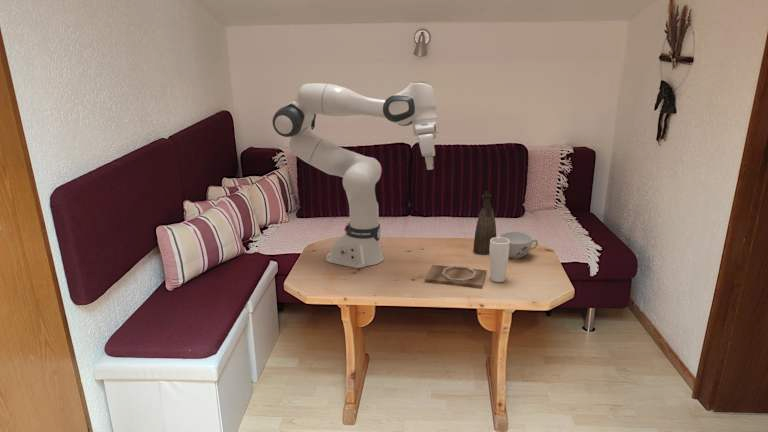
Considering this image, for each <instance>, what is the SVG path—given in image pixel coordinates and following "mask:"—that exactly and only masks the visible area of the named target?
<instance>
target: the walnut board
mask: <svg viewBox="0 0 768 432" xmlns="http://www.w3.org/2000/svg"><path fill="white" fill-rule="evenodd" d="M486 275H487V269H478V268H470V267H469V266H460V265H453V266H450V265H440V264H439V265H438V264H432V265H431V266H430V269H429V271H428V273H427V274H426V276H425V278H424V283H429V284H437V285H448V286H456V287H464V288H473V289H474V288H475V289H483V286H484V283H485V279H486Z"/></svg>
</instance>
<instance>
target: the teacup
mask: <svg viewBox="0 0 768 432" xmlns="http://www.w3.org/2000/svg"><path fill="white" fill-rule="evenodd" d="M498 237H504V238H507V239H509V241H510V247H509V257H508V258H510V259H517V260H519V259H521V258H523V257H524V256H526V254H527V253H529V251H532V250H534V249H536V248H537V247H538V246H539V245H538V244H539V240H538V239H536V238H534V237H533V236H532V235H530V234H528V233H525V232H520V231H506V232H504V233H501V234H500V235H499V236H498ZM533 243H535V245H534V246H532V245H533Z"/></svg>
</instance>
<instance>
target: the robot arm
mask: <svg viewBox="0 0 768 432" xmlns="http://www.w3.org/2000/svg"><path fill="white" fill-rule="evenodd" d="M296 96H297V97H296V99H295V100H293V101H290V102H288V103H286V104H285V105H284V106H282V107H281V108H279V109H278V110H277V111H276V112H275V113H274V115H273V117H272V122H271V123H272V127H273V128H274V130H275V132H276V133H277V134H278V135H280V136H281V137H285V138H290V139H289V141H288V148H289V151H290V152H291V153H293V155H294V156H296V157H297V158H298V159H300V160H301V161H303V162H305V163H306V164H308V165H310V166H312V167H314V168H315V169H318V170H319V171H321V172H323V173H325V174H327V175H331V176H337V177H340V178H342V187H343V189H344V191H345V194H346V197H347V203H348V208H349V211H348V212H349V221H348V222H347V225H345V227H344V228H343V231H344V232H345V233H344V234H342V235H341V236H339V237H338V238H337V239H336V240H335V241H334V242H333V244H332V247H331V251H329V252H328V253H327V254H326V256H325V261H326V263H331V264H335V265H340V266H341V265H342V266H345V267H349V268H355V269H361V268H365V267H367V266H368V267H370V266H374V265H376V264H377V265H378V264H380V263H381V262H383V261H384V259H385V257H384V254H383V250H382V246H381V240H380V239H381V224H380V223H379V222H380V217H379V213H380V212H379V202H378V201H377V195H376V184H377V183H378V182H379V180H380V178H381V177H382V176H381V175H382V166H381V163H380V162H379V161H378V160H377V158H375V157H371V156H365V155H363V154H360V153H357V152H355V151H352V150H349V149H346V148H343V147H341V146H339V145H337V144H336V143H334V142H332V141H329V140H327V139H325V138H324V137H322V136H319V135H318V134H316V133H315V132H314V131H313V130H314V129H315V126H316V119H317V115H323V116H328V117H347V116H361V115H362V116H372V117H377V118H384V119H386V120H388V121H390V123H394V124H397V125H399V126H402V127H407V126H411V125H412V133H413V136H414V137H417V141H418V144H419V149H420V153H421V157H424V159H425V164H426V170H427V171H430V170H434V157H435V156H436V150H435V141H434V139H437V134H439V133H440V128H439V127H440V126H439V118H438V117H439V116H438V115H437V101H436V99H437V98H436V94H435V90H434V87H433V86H432V85H431V84H430V83H428V82H424V81H413V82H410V83H409V84H408V86H406V88H403V90H401V91H399V92H396V93H395V94H394V95H391V96H388V97H387V98H386V99H380V98H375V97H373V98H372V97H367V96H364V95H361V94H359V93H357V92H356V91H354V90H351V89H349V88H347V87H344V86H340V85H339V84H338V85H337V84H333V83H326V82H325V83H324V82H323V83H321V82H312V83H311V82H310V83H308V82H307V83H304V84H302V85H301V86H300V88H298V91H297V95H296Z"/></svg>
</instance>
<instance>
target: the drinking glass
mask: <svg viewBox="0 0 768 432" xmlns="http://www.w3.org/2000/svg"><path fill="white" fill-rule="evenodd" d="M509 247H510V241H509V239H507V238H504V237H499V236H497V237H494V238H491V239H490V248H489V253H490V254H489V271H490V272H489V273H490V274H489V275H490V276H489V277H490V278H489V279H490V281H492V282H493V283H494V282H495V283H503V282H505V281H506V279H507V277H506V275H507V268H508V262H509V258H510V257H509Z"/></svg>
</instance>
